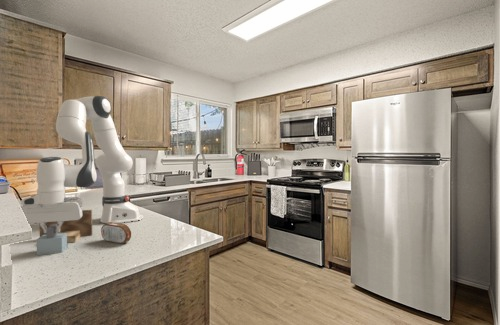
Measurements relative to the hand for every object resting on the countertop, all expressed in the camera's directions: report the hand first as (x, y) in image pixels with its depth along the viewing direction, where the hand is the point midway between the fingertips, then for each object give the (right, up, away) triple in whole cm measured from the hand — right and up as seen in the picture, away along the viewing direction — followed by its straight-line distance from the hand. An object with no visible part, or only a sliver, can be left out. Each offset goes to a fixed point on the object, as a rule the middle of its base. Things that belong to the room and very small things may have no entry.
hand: (52, 232), depth 99 cm
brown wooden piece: (-5, -7, +12) cm, 15 cm away
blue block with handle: (0, -7, 0) cm, 7 cm away
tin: (+19, -8, +11) cm, 24 cm away
